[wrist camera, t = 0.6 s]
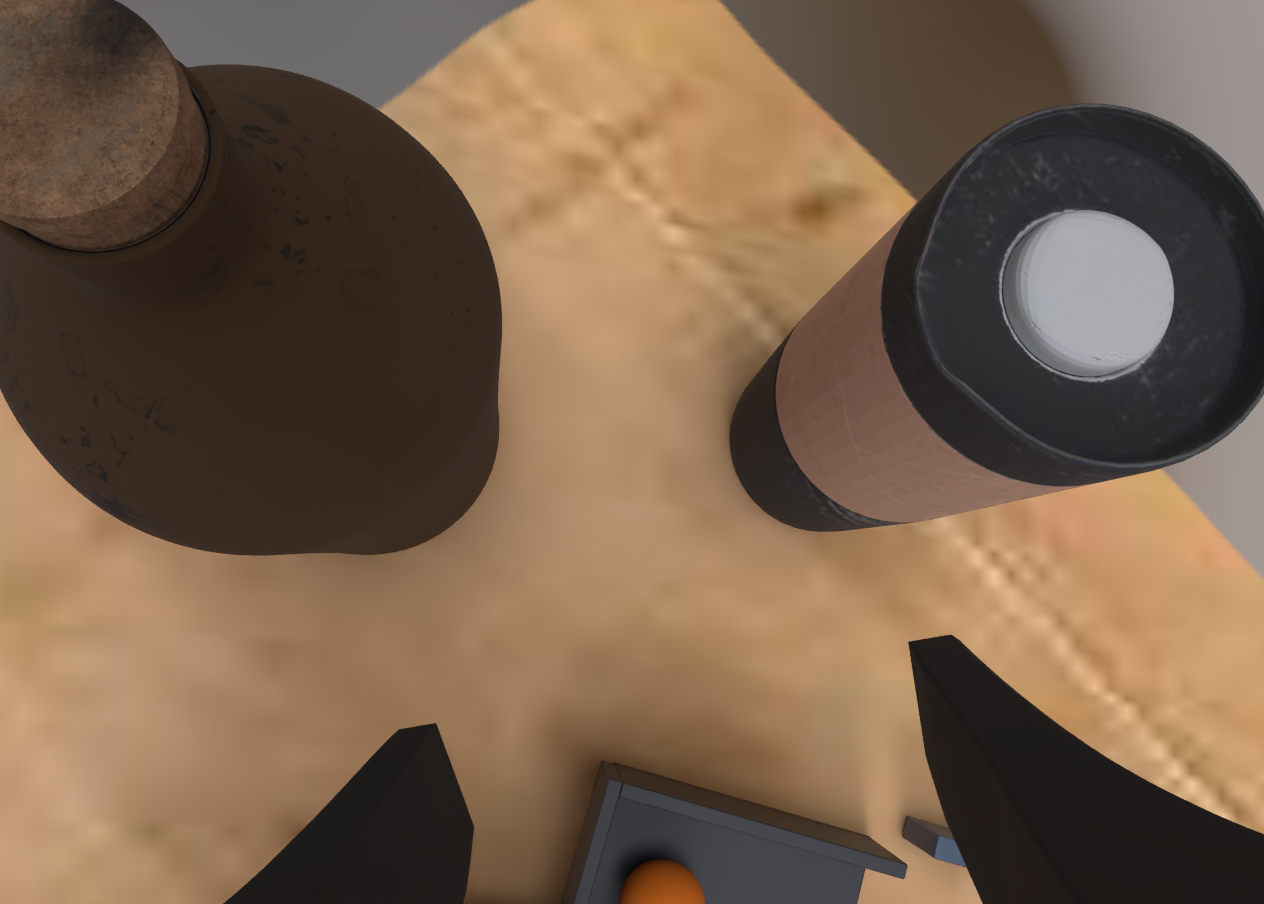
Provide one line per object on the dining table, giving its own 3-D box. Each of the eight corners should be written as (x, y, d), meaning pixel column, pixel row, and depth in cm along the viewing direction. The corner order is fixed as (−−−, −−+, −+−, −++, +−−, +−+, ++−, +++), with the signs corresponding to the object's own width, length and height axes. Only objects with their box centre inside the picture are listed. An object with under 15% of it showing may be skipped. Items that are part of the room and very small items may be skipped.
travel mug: (944, 413, 39) (1358, 227, 19) (852, 576, 38) (1196, 555, 18) (783, 312, 39) (1034, 23, 19) (685, 472, 38) (847, 336, 18)
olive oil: (522, 562, 37) (493, 494, 12) (230, 580, 35) (-464, 546, 11) (508, 290, 38) (458, -269, 13) (228, 299, 37) (-388, -291, 12)
